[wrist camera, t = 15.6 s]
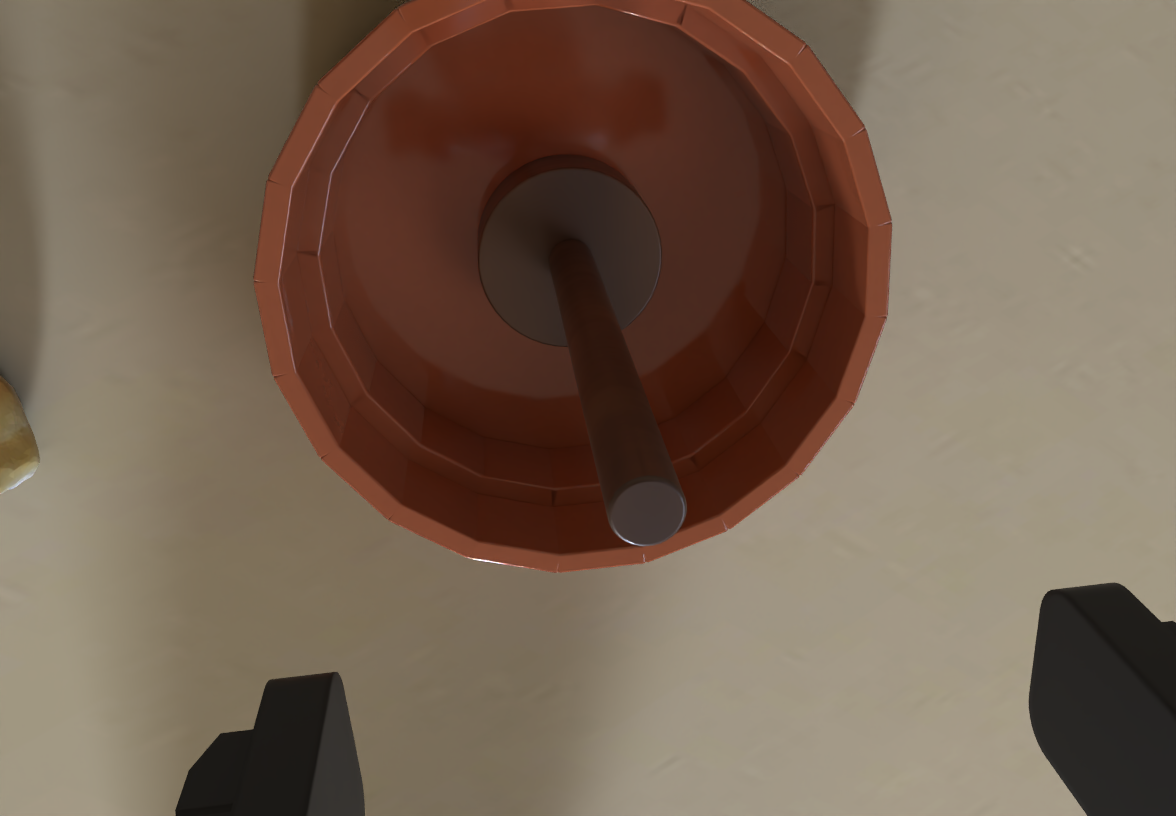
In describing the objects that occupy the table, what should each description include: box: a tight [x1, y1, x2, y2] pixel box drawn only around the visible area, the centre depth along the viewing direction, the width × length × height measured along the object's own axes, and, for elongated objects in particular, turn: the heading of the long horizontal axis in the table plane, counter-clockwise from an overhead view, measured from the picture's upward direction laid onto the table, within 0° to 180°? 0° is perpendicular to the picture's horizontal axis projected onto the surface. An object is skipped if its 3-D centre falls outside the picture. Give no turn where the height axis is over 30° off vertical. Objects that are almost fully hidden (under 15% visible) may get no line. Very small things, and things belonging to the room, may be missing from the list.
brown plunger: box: [478, 154, 687, 546], centre depth 23 cm, size 5×5×16 cm
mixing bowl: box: [253, 0, 892, 573], centre depth 28 cm, size 15×15×6 cm
